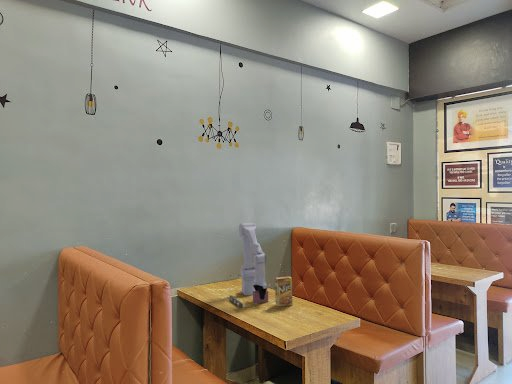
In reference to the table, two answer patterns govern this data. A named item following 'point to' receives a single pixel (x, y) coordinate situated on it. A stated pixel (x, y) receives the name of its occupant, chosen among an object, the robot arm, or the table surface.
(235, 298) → the price rail
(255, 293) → the carton
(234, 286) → the table surface
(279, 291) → the candy box
